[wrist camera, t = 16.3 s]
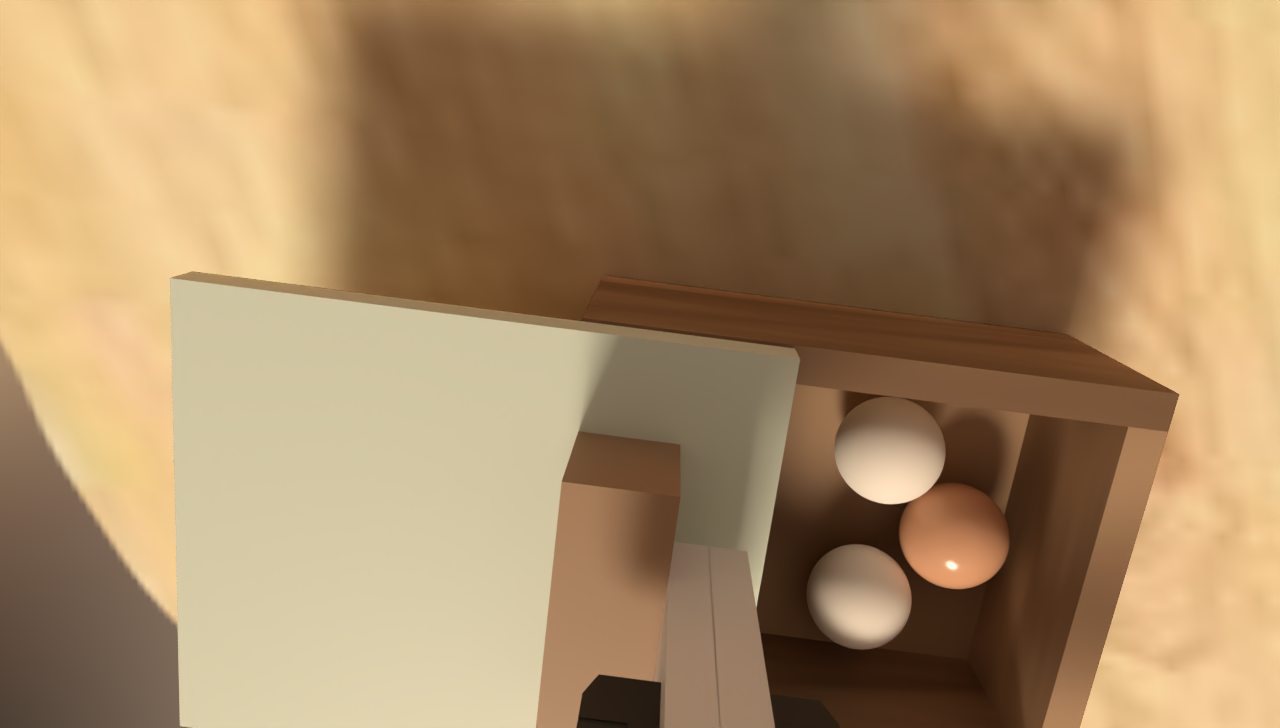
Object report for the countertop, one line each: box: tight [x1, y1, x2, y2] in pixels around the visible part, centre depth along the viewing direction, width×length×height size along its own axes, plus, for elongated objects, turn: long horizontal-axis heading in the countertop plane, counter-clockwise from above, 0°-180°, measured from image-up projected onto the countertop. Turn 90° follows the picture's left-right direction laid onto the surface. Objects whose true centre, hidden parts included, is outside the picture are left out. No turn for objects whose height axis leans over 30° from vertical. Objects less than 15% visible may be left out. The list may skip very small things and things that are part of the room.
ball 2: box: [806, 544, 912, 650], centre depth 22 cm, size 3×3×3 cm
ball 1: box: [834, 397, 946, 504], centre depth 21 cm, size 3×3×3 cm
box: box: [582, 275, 1179, 728], centre depth 21 cm, size 10×12×5 cm
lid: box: [170, 271, 800, 728], centre depth 17 cm, size 10×12×3 cm
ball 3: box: [899, 483, 1010, 589], centre depth 22 cm, size 3×3×3 cm
